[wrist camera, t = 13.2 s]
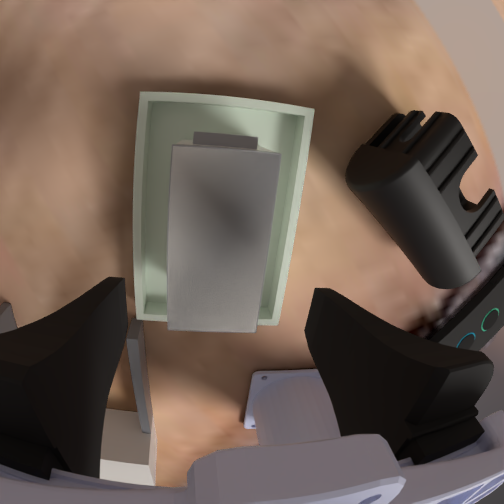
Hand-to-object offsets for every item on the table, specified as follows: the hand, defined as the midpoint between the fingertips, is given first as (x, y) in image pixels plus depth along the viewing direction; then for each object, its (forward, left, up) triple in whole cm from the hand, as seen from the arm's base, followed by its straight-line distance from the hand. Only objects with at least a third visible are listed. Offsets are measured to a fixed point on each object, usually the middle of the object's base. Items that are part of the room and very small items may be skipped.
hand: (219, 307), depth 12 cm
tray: (0, -1, -9) cm, 9 cm away
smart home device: (-30, +7, -10) cm, 32 cm away
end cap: (-13, -4, -10) cm, 17 cm away
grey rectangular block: (0, -1, -9) cm, 9 cm away
